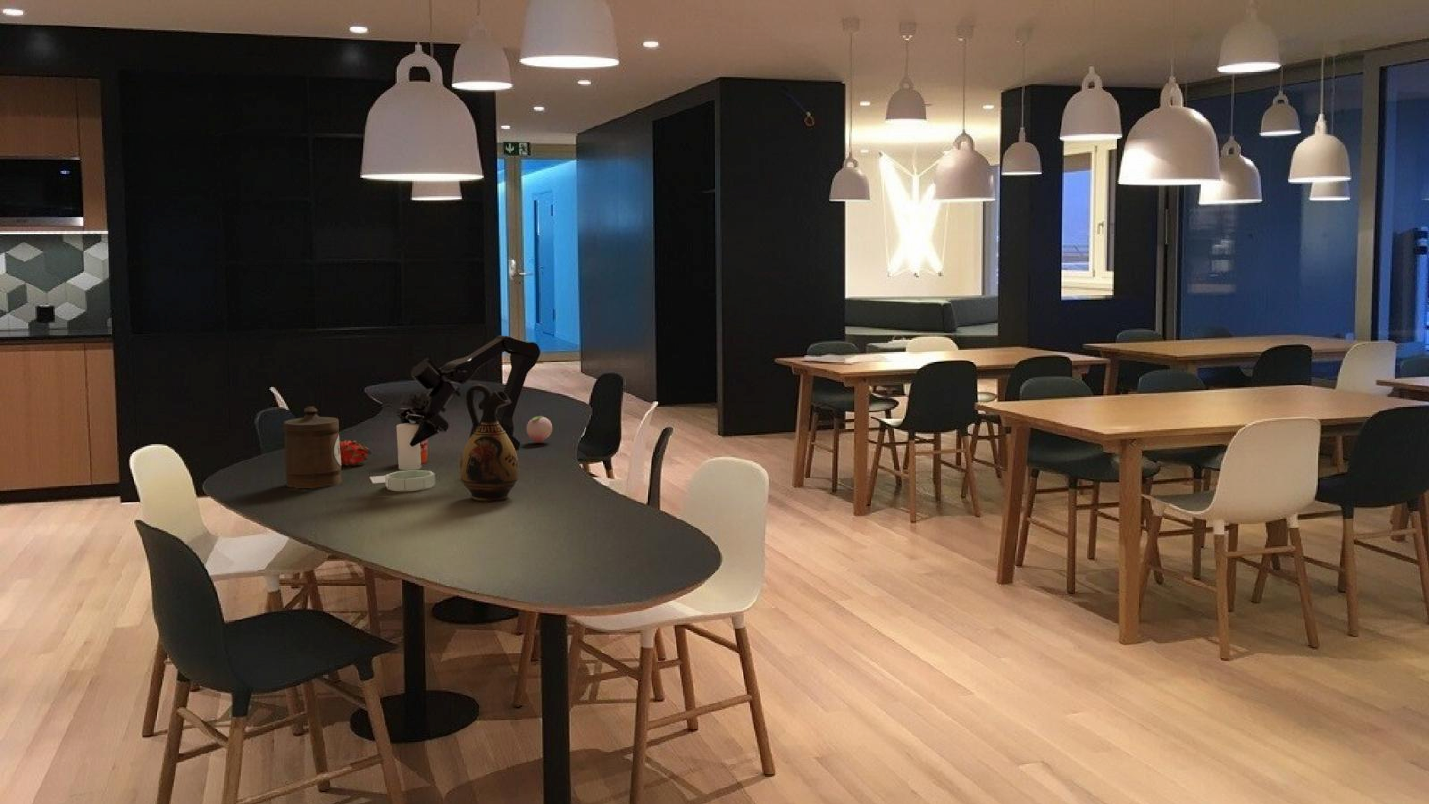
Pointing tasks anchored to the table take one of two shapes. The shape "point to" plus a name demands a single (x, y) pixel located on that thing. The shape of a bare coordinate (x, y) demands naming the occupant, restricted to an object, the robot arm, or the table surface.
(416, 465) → the white cylinder
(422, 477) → the bowl
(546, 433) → the decorative fruit
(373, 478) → the mat
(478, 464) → the ceramic jug
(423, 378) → the robot arm
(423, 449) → the paper cup
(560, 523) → the table surface
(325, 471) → the wooden container
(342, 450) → the dragon fruit
